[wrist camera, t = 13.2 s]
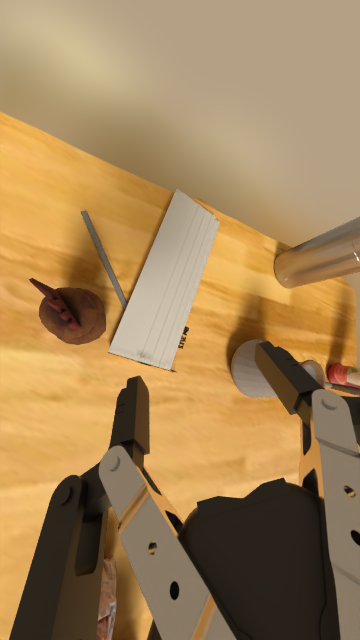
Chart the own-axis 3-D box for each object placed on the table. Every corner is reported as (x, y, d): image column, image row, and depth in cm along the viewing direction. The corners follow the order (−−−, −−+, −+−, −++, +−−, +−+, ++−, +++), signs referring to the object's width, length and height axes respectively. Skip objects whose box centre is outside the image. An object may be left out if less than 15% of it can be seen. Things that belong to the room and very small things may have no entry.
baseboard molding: (222, 229, 35) (173, 194, 31) (231, 220, 33) (179, 181, 29) (175, 371, 30) (107, 350, 26) (181, 375, 27) (107, 353, 23)
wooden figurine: (59, 299, 24) (-20, 255, 10) (103, 295, 26) (87, 254, 12) (67, 345, 24) (0, 365, 10) (110, 337, 26) (103, 345, 12)
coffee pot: (219, 389, 33) (295, 433, 19) (228, 333, 34) (306, 335, 20) (291, 399, 40) (386, 436, 26) (297, 352, 42) (388, 363, 28)
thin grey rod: (86, 211, 26) (86, 211, 26) (135, 322, 28) (135, 322, 27) (80, 212, 26) (80, 211, 25) (130, 324, 27) (130, 324, 27)
